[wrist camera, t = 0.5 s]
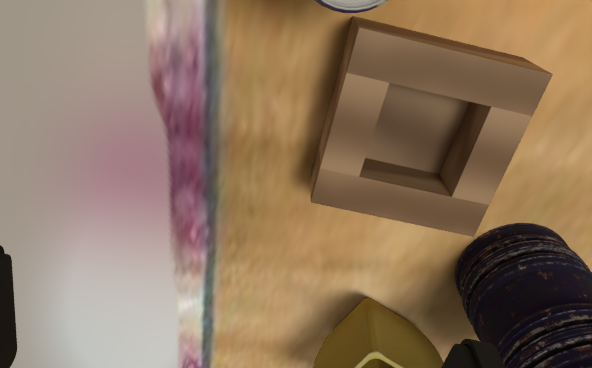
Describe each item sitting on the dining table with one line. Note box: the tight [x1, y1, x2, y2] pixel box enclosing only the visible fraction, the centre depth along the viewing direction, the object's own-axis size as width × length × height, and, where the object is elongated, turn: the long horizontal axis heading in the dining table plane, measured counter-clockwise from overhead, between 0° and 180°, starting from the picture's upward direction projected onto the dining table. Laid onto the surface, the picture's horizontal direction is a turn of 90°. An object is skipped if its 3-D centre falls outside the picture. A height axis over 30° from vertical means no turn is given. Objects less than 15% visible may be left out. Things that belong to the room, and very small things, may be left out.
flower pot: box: [313, 298, 444, 368], centre depth 40 cm, size 9×9×9 cm
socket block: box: [311, 16, 553, 237], centre depth 32 cm, size 12×12×4 cm
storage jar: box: [455, 223, 592, 368], centre depth 34 cm, size 10×10×15 cm
